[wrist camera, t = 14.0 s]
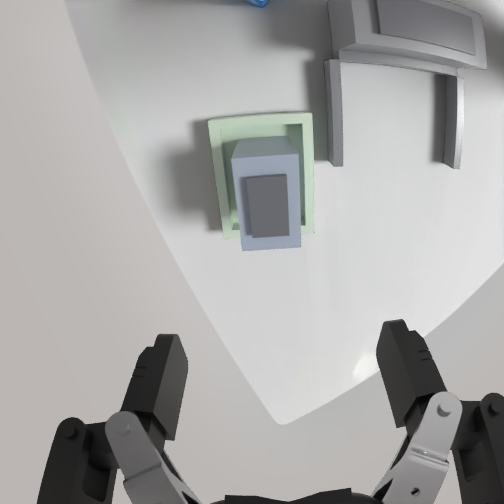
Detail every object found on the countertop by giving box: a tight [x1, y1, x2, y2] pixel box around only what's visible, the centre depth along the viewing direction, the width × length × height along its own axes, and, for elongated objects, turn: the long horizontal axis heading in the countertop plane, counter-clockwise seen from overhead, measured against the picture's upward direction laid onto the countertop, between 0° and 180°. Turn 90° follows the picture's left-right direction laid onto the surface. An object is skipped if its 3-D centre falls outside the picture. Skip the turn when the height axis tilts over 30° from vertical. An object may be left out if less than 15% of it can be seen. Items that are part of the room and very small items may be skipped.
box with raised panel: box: [231, 136, 301, 251], centre depth 27 cm, size 5×8×10 cm, turn 5°
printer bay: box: [324, 0, 487, 169], centre depth 22 cm, size 16×18×9 cm
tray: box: [208, 111, 315, 239], centre depth 31 cm, size 10×13×2 cm
